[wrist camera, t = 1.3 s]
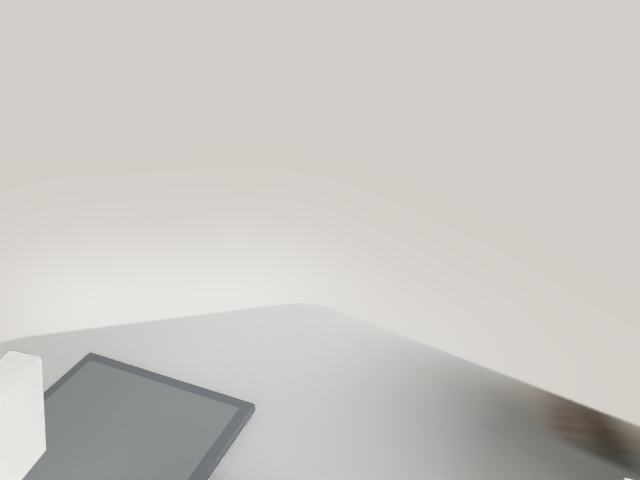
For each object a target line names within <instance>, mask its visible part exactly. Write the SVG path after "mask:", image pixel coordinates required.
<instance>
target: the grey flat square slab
mask: <svg viewBox="0 0 640 480" xmlns="http://www.w3.org/2000/svg"><path fill="white" fill-rule="evenodd" d="M254 411H255V406H254V404H252V403H249V402H246V401H243V400H239V399H236V398H233V397H230V396H227V395H224V394H220V393H217V392H214V391H211V390H208V389H204V388H201V387H198V386H195V385H192V384H189V383H185V382H182V381H179V380H176V379H173V378H169V377H166V376H163V375H160V374H157V373H154V372H150V371H147V370H144V369H141V368H138V367H134V366H131V365H128V364H125V363H122V362H119V361H115V360H112V359H109V358H106V357H103V356H99V355H96V354H93V353H89V354H88V355H87V356H86V357H85V358H83V359H82V360H81V361H80V362H79V363H78V364H77V365H75V366H74V367H73V368H72V369H71V370H70V371H69V372H68V373H66V374H65V375H64V376H63V377H62V378H61V379H60V380H59V381H57V382H56V383H55V384H54V385H53V386H52V387H51V388H49V389H48V390H47V391H46V392H45V393H44V415H45V436H46V451H45V452H44V453H43V454H42V456H41V457H40V458H39V459H38V461H37V462H36V463H35V464H34V465H33V467H32V468H31V469H30V470H29V472H28V473H27V474H26V475H25V477H24V478H23V479H22V480H207V479H208V477H209V476H210V475H211V473H212V472H213V470H214V469H215V467H216V466H217V464H218V463H219V461H220V460H221V459H222V457H223V456H224V454H225V453H226V451H227V450H228V448H229V447H230V446H231V444H232V443H233V441H234V440H235V438H236V437H237V435H238V434H239V433H240V431H241V430H242V428H243V427H244V425H245V424H246V422H247V421H248V420H249V418H250V417H251V415H252V414H253V412H254Z"/></svg>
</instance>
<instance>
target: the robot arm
mask: <svg viewBox="0 0 640 480" xmlns="http://www.w3.org/2000/svg"><path fill="white" fill-rule="evenodd" d="M45 451H46V436H45V415H44V394H43V372H42V357H40V356H35V355H31V354H26V353H21V352H16V351H11V350H10V351H9V352H7V353H6V354H5V355H4V356H3V357H2V358H0V480H22V479H23V478H24V477H25V475H26V474H27V473H28V472H29V470H30V469H31V468H32V467H33V465H34V464H35V463H36V462H37V461H38V459H39V458H40V457H41V456H42V454H43V453H44V452H45ZM623 480H633V479H628V478H624V479H623Z"/></svg>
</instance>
